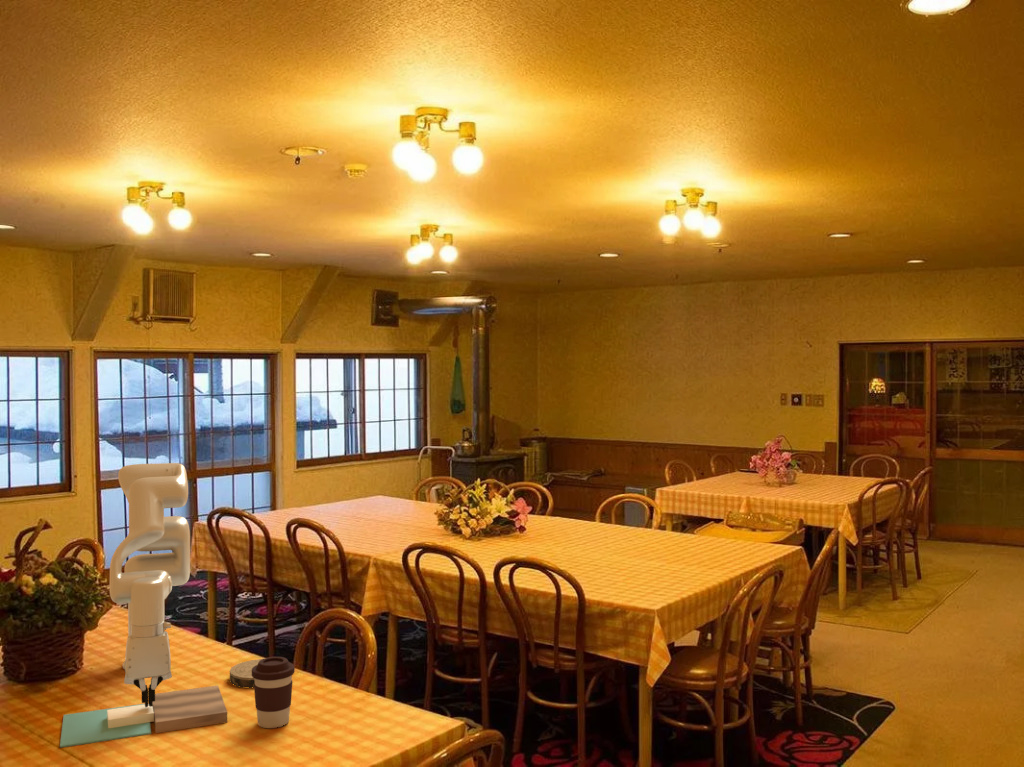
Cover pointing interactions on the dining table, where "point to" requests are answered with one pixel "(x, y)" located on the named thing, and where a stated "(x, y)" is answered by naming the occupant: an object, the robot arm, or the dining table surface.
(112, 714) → the cream foam board
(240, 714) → the dining table surface
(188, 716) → the panel
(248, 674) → the wood slice coaster
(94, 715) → the mat
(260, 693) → the coffee cup
